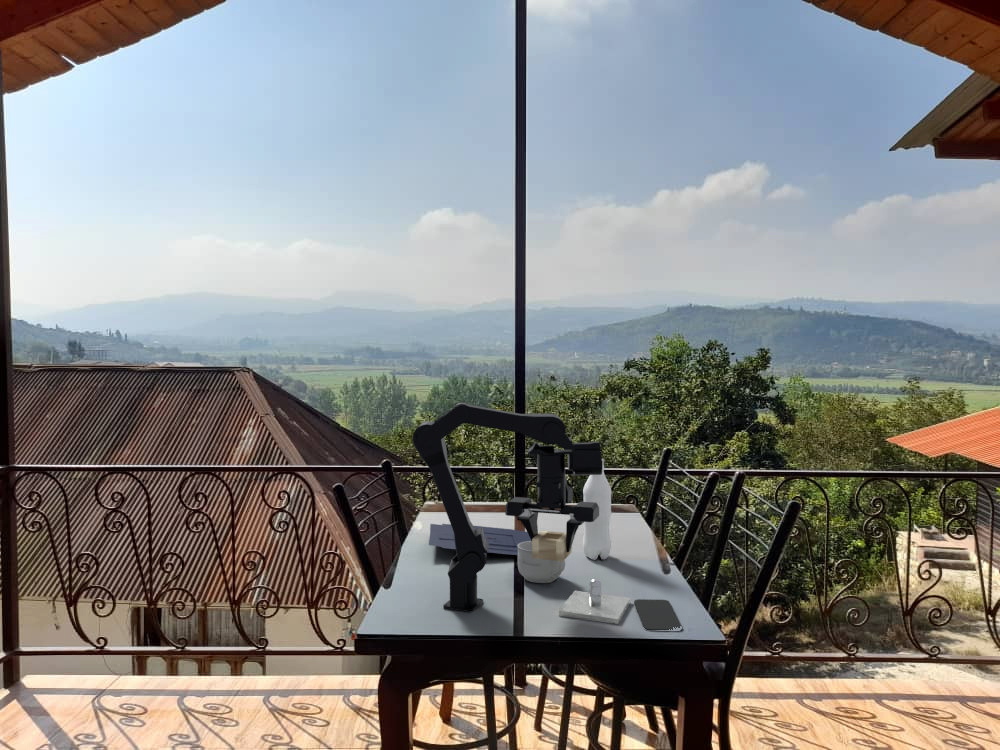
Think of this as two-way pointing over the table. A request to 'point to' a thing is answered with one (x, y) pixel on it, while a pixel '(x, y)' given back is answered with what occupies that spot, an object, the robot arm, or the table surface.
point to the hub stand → (595, 605)
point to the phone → (656, 614)
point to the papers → (496, 537)
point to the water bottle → (598, 530)
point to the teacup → (537, 565)
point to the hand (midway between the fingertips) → (552, 550)
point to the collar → (550, 546)
